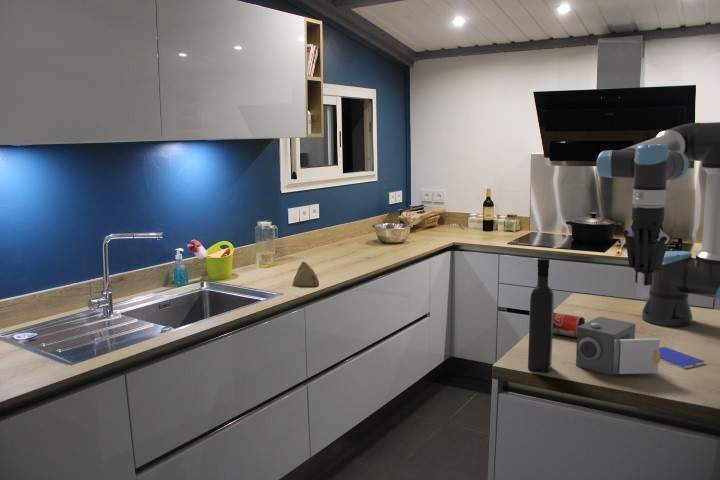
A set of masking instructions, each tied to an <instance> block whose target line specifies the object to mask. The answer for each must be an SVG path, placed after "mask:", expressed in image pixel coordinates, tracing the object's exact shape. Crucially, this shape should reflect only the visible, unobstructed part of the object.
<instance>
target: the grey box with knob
mask: <svg viewBox="0 0 720 480" xmlns="http://www.w3.org/2000/svg"><path fill="white" fill-rule="evenodd" d="M635 335H636V323H632V322H629V321H623V320H620V319H615V318H608V317H606V316H598V317H596V318H593V319H591V320H590V321H587V322H585V323H584V324H582V325H580V326H578V329H577V338H576V353H575V366H576V367H579V368H584V369H587V370H590V371H594V372H598V373H601V374H605V375H610V376H614V374H613V356H614V340H615V339H618V340H620V339H636V338H635Z"/></svg>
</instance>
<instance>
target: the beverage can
mask: <svg viewBox="0 0 720 480" xmlns="http://www.w3.org/2000/svg"><path fill="white" fill-rule="evenodd" d="M584 323H586V319H585V318H584V316H583V317H582V316H578V315H571V314H565V313H559V312H554V313H553V335H557V336H558V335H559V336H565V337H569V338H570V337H571V338H575V339H577V329H578V326H580V325H582V324H584Z"/></svg>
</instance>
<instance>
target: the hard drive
mask: <svg viewBox="0 0 720 480" xmlns="http://www.w3.org/2000/svg"><path fill="white" fill-rule="evenodd" d="M659 351H660V361H661V360H662V362H664V361H665V363H667V362H668V364H669V363H670V365H672V364H673V365H672V366H675V367H677V366H678V368H680V369H683V370H685V369H689V368H693V367H697V366H700V365H704V364H705V360H703V359H701V358H698V357H694V356H692V355H689V354H685V353H684V352H680V351H678V350H676V349H675V350H674V349H672V348H669V347H667V346H662V347H659Z"/></svg>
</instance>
